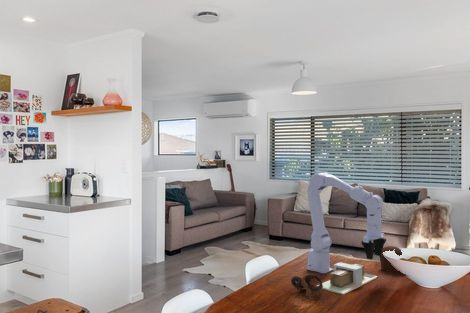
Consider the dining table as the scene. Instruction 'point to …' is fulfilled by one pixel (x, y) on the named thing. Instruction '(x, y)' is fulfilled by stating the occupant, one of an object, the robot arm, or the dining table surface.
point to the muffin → (384, 262)
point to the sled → (343, 276)
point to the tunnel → (356, 283)
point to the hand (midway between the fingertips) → (373, 257)
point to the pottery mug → (307, 284)
